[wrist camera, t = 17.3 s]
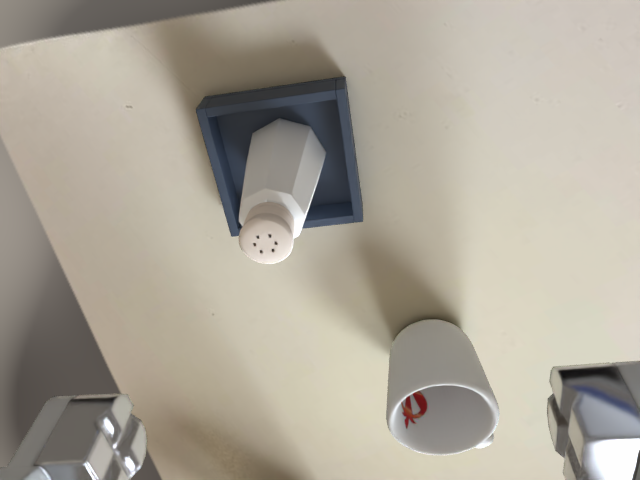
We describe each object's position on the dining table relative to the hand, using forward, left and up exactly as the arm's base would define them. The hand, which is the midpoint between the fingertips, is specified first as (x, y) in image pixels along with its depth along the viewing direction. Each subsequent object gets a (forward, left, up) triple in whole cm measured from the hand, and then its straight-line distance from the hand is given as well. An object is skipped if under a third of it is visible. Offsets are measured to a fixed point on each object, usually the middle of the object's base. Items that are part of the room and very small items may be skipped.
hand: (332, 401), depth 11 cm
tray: (+8, -1, -28) cm, 29 cm away
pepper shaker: (+8, -1, -27) cm, 28 cm away
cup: (+19, +18, -28) cm, 38 cm away
